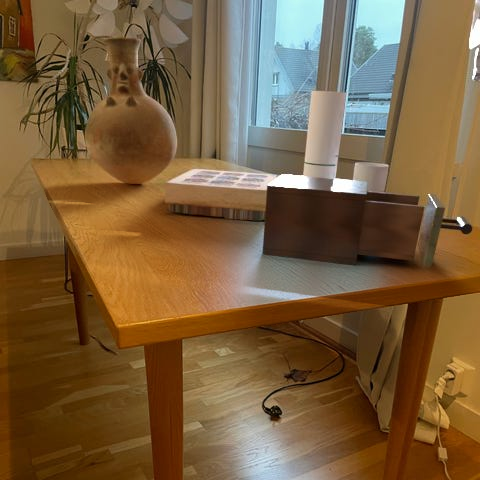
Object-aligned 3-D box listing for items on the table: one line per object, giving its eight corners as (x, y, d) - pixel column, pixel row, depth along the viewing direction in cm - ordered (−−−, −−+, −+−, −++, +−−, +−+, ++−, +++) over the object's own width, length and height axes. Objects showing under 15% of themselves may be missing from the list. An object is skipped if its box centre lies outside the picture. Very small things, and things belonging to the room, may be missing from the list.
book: (183, 192, 126) (151, 212, 100) (184, 166, 123) (151, 181, 98) (276, 199, 123) (267, 222, 98) (278, 173, 121) (270, 190, 95)
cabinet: (358, 244, 86) (368, 181, 81) (355, 265, 75) (366, 194, 70) (276, 235, 89) (281, 174, 84) (262, 254, 78) (267, 185, 73)
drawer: (455, 250, 82) (468, 197, 78) (466, 271, 71) (482, 211, 67) (345, 238, 86) (352, 186, 82) (340, 256, 75) (348, 198, 71)
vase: (104, 175, 143) (94, 41, 128) (183, 179, 143) (182, 45, 128) (76, 188, 122) (60, 29, 107) (169, 193, 121) (167, 34, 106)
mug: (377, 228, 98) (388, 167, 93) (344, 224, 100) (353, 164, 95) (381, 218, 106) (390, 162, 101) (351, 214, 108) (359, 159, 103)
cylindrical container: (335, 212, 110) (351, 93, 100) (323, 217, 104) (339, 91, 94) (306, 207, 113) (319, 91, 103) (294, 212, 108) (306, 90, 97)
